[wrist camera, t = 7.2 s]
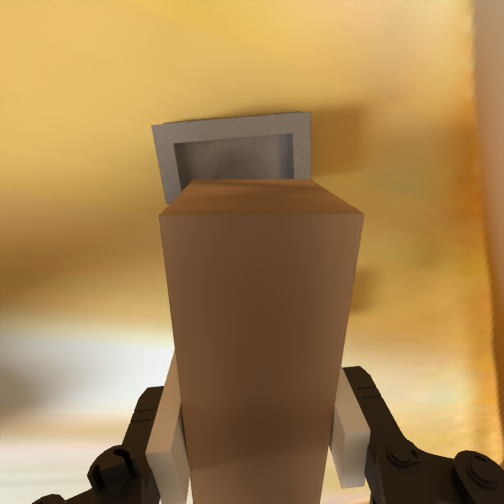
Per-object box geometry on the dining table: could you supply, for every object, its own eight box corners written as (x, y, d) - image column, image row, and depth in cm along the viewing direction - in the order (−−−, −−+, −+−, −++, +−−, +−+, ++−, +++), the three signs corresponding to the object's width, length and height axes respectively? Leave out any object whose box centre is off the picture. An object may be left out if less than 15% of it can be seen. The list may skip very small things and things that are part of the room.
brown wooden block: (211, 435, 19) (200, 564, 13) (193, 179, 12) (159, 215, 7) (289, 432, 19) (311, 557, 13) (308, 178, 13) (364, 213, 7)
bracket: (203, 336, 33) (197, 378, 27) (166, 123, 24) (145, 120, 19) (300, 327, 33) (314, 367, 27) (297, 112, 24) (315, 106, 19)
